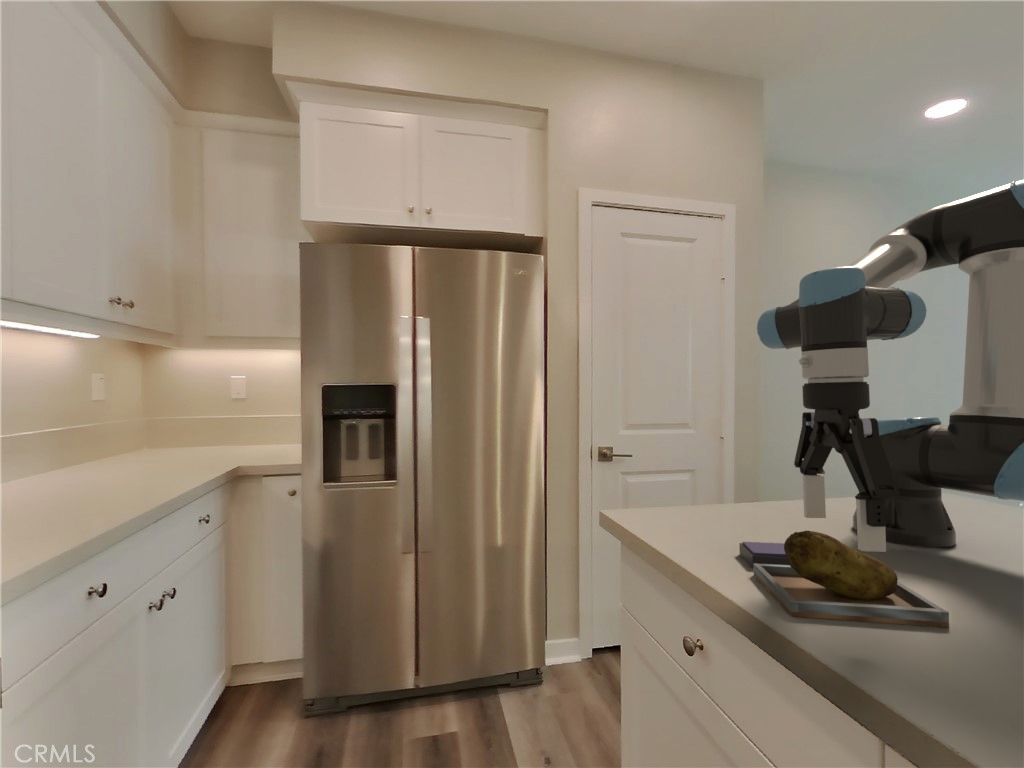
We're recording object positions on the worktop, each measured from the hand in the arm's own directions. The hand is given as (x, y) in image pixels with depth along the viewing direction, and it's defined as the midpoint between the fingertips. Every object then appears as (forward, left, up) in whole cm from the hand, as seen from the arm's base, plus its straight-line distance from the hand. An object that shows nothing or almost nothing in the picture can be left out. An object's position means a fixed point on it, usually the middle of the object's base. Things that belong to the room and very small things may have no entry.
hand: (840, 532), depth 61 cm
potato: (0, 0, -9) cm, 9 cm away
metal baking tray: (0, 0, -9) cm, 9 cm away
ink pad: (+4, -12, -9) cm, 15 cm away
